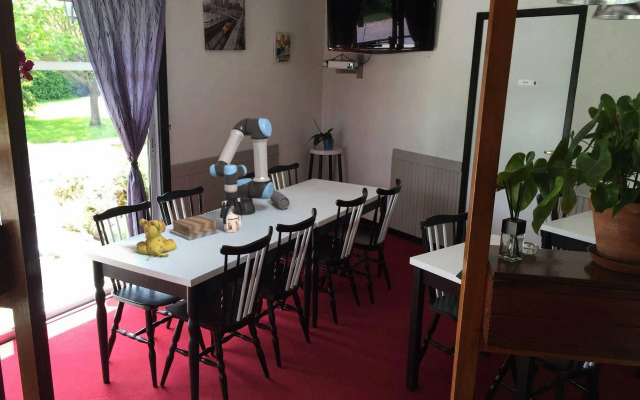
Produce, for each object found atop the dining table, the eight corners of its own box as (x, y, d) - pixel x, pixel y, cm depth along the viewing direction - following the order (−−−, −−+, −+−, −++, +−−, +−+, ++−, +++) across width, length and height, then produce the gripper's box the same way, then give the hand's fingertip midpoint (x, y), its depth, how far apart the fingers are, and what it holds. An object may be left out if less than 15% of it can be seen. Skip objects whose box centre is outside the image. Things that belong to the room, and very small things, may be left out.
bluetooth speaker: (290, 209, 365) (290, 196, 363) (278, 211, 362) (277, 197, 360) (281, 202, 386) (280, 189, 384) (268, 203, 383) (268, 190, 380)
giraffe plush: (179, 245, 292) (176, 212, 287) (169, 259, 269) (167, 224, 264) (142, 246, 291) (139, 212, 286) (129, 260, 268) (126, 225, 263)
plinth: (199, 225, 328) (199, 214, 326) (219, 232, 314) (218, 220, 312) (170, 233, 313) (169, 221, 312) (189, 240, 299) (188, 228, 297)
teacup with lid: (220, 231, 316) (219, 212, 314) (231, 227, 324) (230, 209, 321) (235, 234, 310) (234, 215, 307) (245, 230, 317) (244, 212, 314)
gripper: (219, 194, 301) (221, 232, 306) (249, 189, 316) (250, 224, 321) (212, 192, 306) (214, 229, 311) (241, 187, 321) (243, 222, 326)
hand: (232, 227), depth 316 cm, fingers closed on teacup with lid, 9 cm apart
